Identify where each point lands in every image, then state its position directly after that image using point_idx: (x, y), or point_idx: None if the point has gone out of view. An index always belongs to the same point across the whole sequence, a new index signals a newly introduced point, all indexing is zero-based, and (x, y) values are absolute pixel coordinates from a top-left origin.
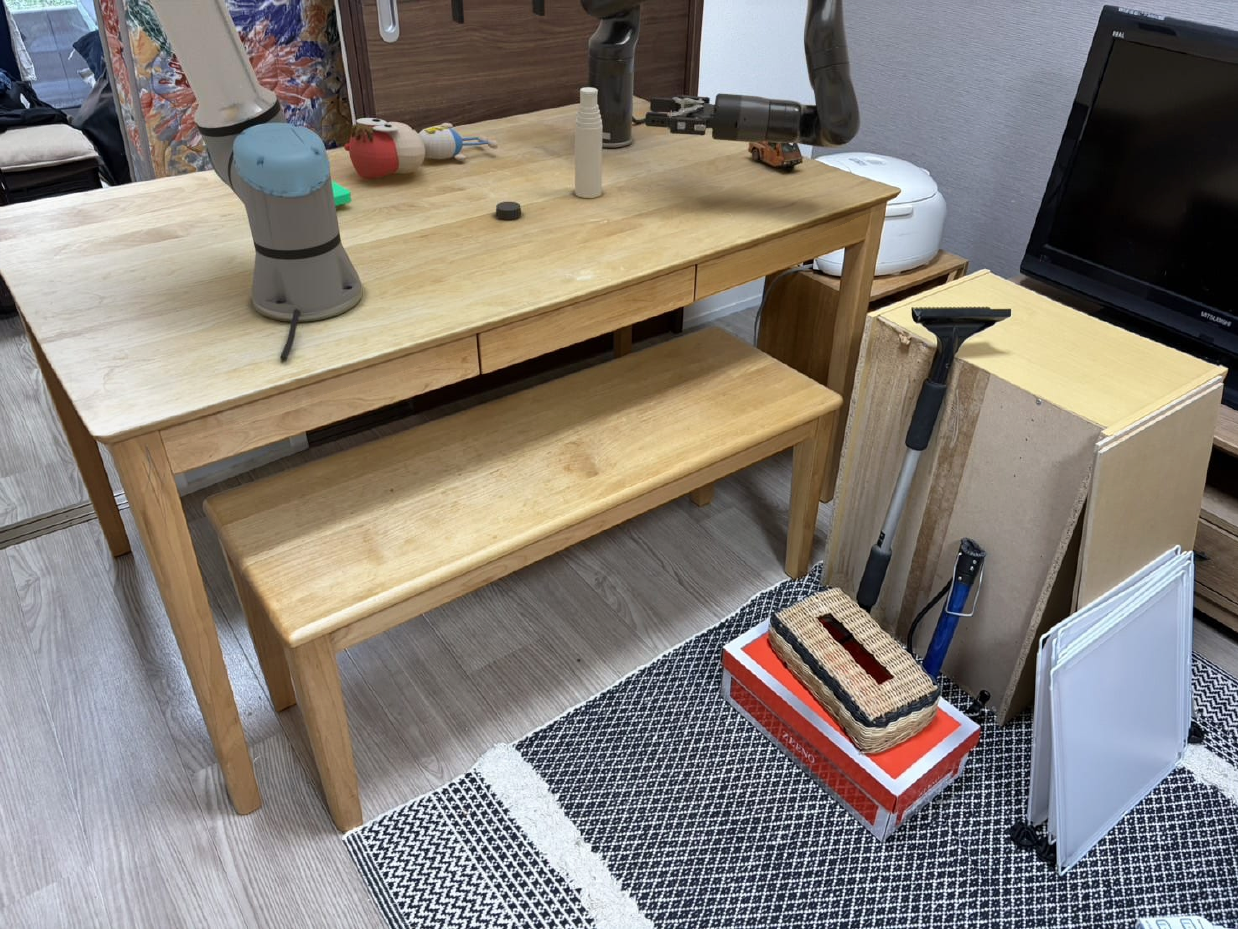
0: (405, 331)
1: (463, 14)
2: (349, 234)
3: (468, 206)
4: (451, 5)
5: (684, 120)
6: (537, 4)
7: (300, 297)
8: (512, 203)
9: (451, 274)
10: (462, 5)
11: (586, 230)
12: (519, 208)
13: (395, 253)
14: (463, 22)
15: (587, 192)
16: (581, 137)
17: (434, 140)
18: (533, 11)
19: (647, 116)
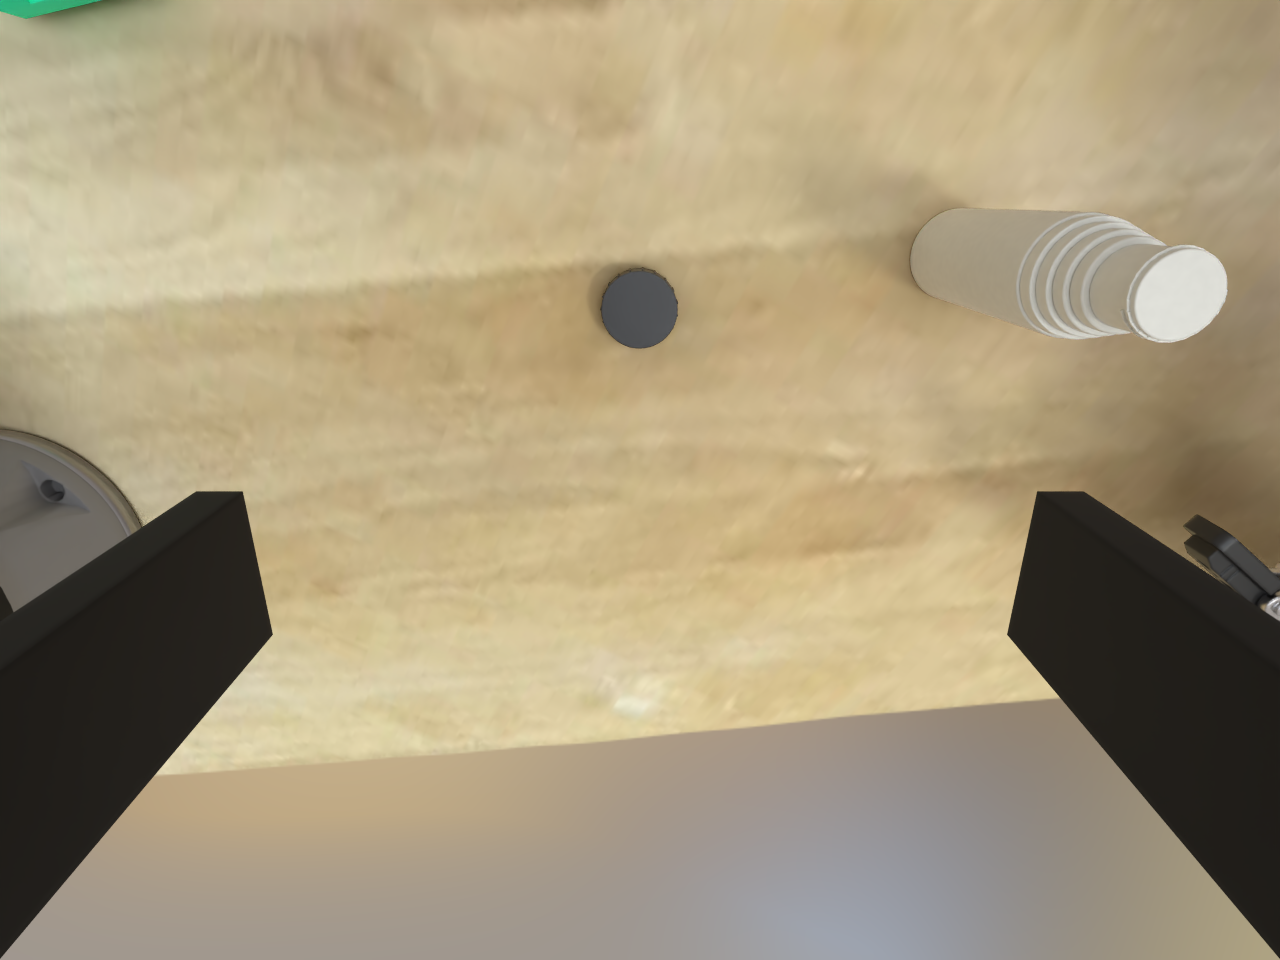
0: (218, 739)
1: (236, 674)
2: (150, 215)
3: (556, 171)
4: (112, 547)
5: None
6: (1062, 637)
7: None
8: (660, 298)
9: (366, 570)
10: (187, 729)
11: (779, 498)
12: (664, 338)
13: (260, 404)
14: (263, 637)
15: (931, 294)
16: (1000, 304)
17: None
18: (1040, 512)
19: (1210, 544)
